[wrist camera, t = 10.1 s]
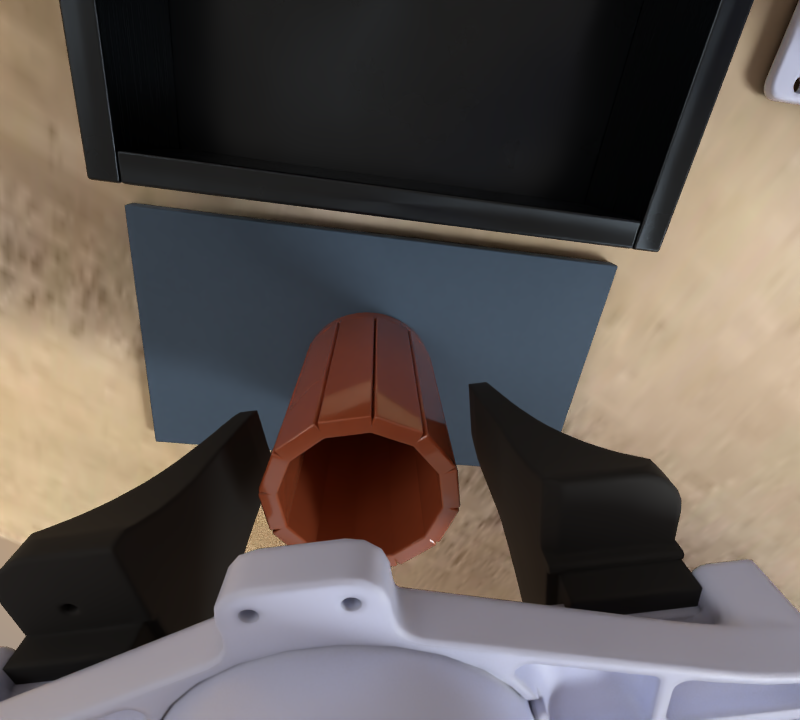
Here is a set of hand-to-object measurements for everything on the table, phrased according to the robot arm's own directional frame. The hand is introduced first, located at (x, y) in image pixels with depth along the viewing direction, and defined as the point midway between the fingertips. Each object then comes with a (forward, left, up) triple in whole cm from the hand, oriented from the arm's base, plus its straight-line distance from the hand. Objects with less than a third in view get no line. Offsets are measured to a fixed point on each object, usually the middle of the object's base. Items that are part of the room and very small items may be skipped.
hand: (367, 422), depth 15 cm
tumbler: (0, 0, -4) cm, 4 cm away
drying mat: (0, 0, -4) cm, 4 cm away
